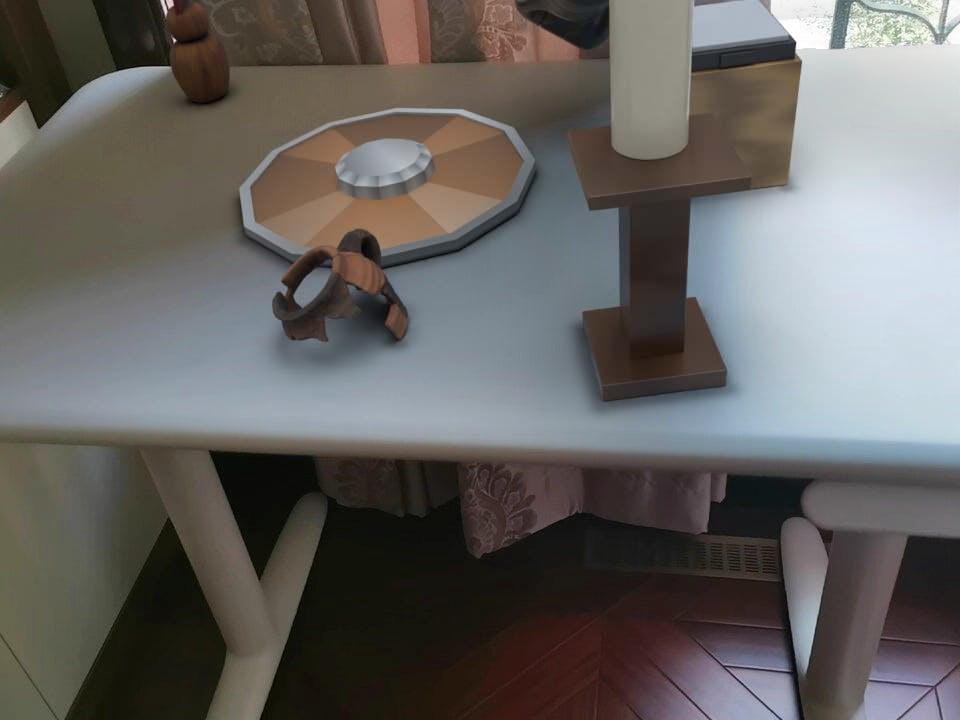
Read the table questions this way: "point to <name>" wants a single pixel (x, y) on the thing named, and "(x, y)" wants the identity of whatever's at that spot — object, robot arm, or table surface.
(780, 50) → the scale
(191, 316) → the table surface
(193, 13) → the wooden figurine
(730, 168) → the stand
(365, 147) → the shield
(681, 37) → the cream pillar candle
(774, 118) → the crate
